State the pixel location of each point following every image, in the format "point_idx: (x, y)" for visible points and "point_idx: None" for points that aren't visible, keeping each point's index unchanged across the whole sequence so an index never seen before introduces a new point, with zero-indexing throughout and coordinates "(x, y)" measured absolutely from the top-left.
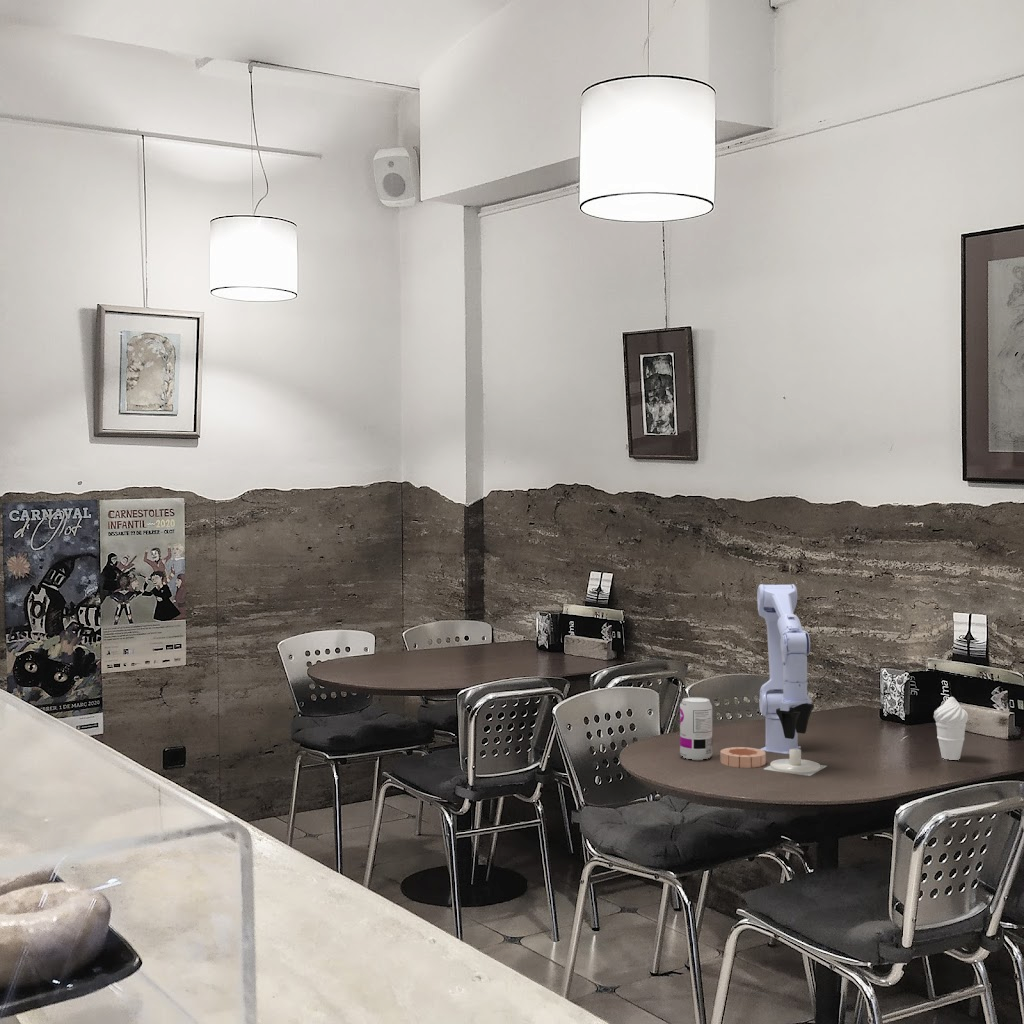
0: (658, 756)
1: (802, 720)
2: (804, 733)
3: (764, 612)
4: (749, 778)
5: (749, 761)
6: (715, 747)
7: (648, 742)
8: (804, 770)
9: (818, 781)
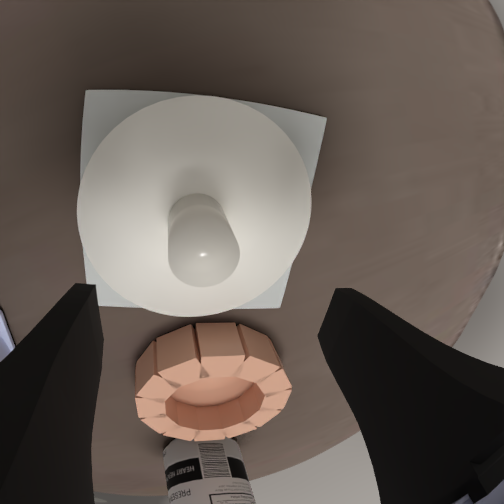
0: None
1: (69, 395)
2: (93, 284)
3: None
4: (380, 296)
5: (278, 359)
6: None
7: (139, 493)
8: (297, 150)
9: (369, 78)
